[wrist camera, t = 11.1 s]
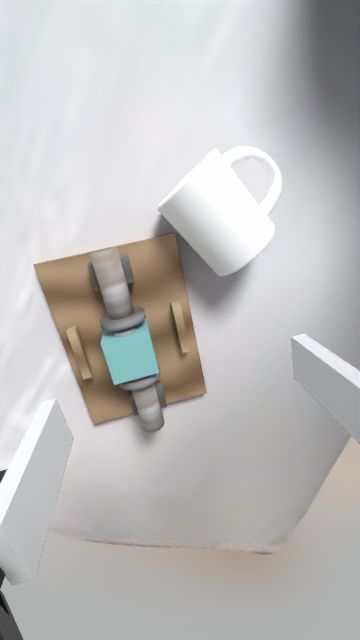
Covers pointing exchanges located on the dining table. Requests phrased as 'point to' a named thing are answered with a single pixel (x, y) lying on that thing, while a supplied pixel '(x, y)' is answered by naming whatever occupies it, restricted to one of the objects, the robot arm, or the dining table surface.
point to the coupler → (129, 353)
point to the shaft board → (126, 324)
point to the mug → (223, 210)
